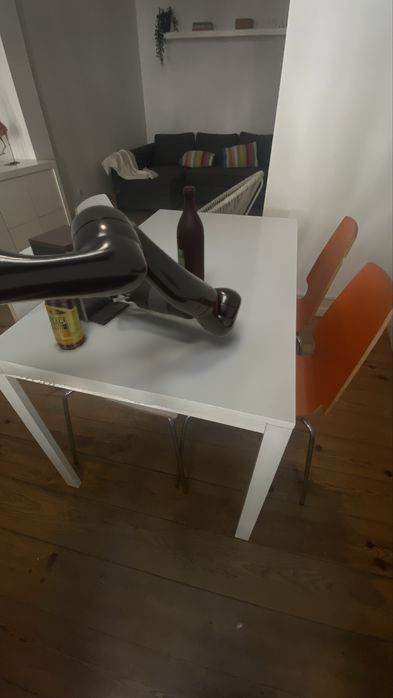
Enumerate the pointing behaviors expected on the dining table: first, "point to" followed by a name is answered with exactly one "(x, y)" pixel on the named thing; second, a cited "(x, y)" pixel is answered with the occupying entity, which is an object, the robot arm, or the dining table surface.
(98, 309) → the coffee maker
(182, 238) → the wine bottle
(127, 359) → the dining table surface
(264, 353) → the dining table surface
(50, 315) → the sauce bottle
